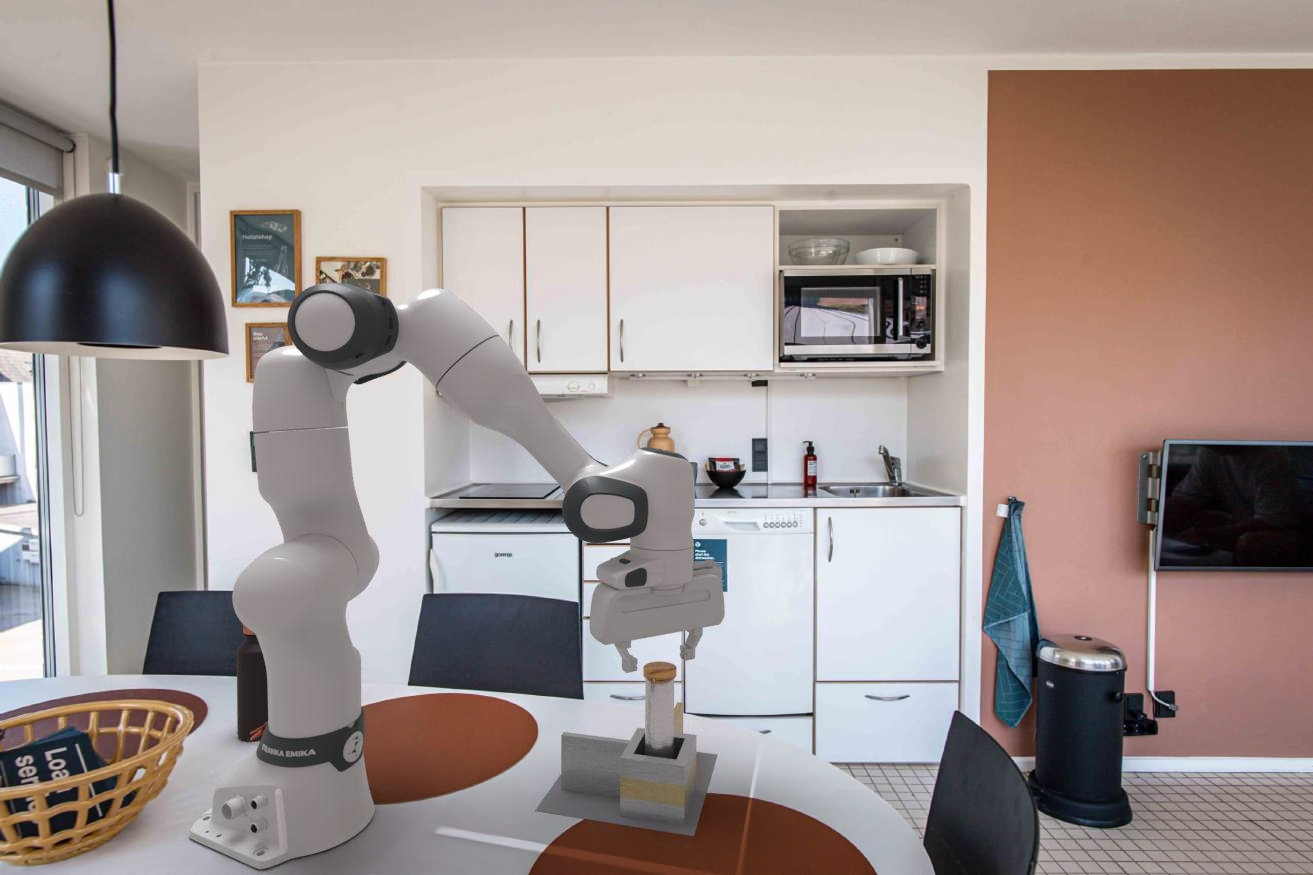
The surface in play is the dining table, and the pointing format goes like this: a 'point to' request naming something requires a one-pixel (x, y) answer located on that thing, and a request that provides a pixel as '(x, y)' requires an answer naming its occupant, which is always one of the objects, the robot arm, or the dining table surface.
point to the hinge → (633, 773)
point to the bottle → (251, 687)
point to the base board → (610, 807)
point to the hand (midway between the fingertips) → (659, 664)
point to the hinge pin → (659, 709)
